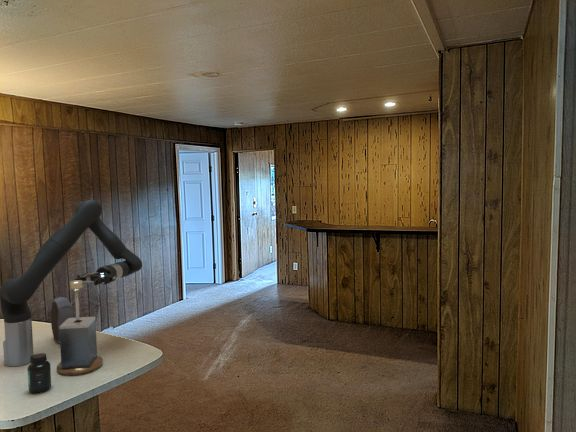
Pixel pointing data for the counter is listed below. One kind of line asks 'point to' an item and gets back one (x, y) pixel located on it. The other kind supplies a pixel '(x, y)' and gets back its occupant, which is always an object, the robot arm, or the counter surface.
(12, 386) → the counter surface
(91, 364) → the square holed block
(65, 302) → the soft grey pack
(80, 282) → the plunger
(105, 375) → the counter surface
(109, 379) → the counter surface
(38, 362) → the supplement bottle
